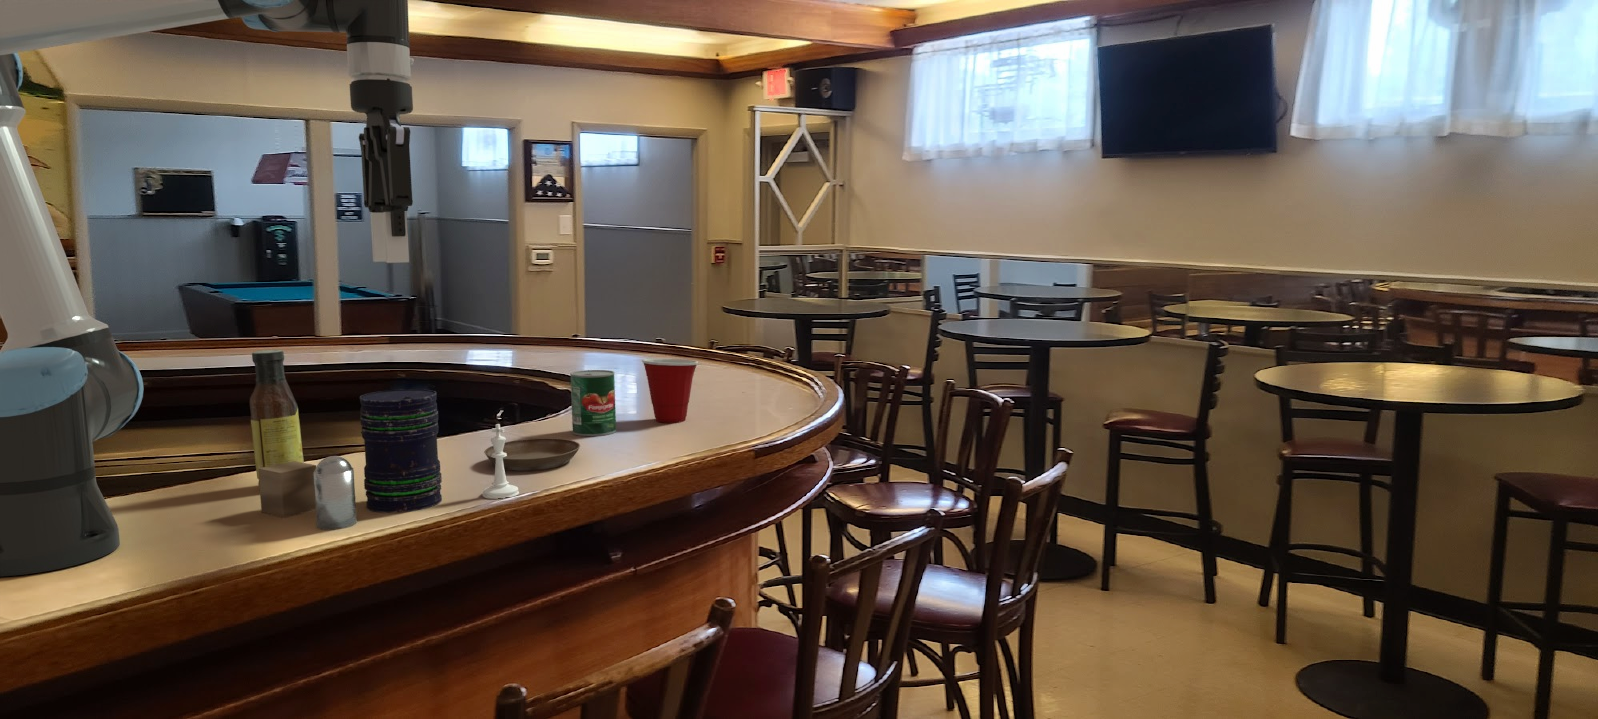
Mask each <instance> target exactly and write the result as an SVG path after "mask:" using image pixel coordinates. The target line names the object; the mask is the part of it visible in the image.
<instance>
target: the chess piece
mask: <svg viewBox="0 0 1598 719" xmlns="http://www.w3.org/2000/svg"><path fill="white" fill-rule="evenodd" d="M491 432H492V433H495V436H493V437H491V438H490V442H491V444H492V446H493V447H494V450H495V453H493V454H492V456H491V457H493V458H496V464H494V465H495V466H494V467H495V468H494V476H493V477H494V478H493V482H492V483H491V484H492V485H490V486H488V487H486V488H484V489H483V491H482V497H483V498H486V499H490V500H491V499H492V500H499V499H498V498H503V499H506V498H505V497H510V498H513V497H516V496H518V495H519V494H520V492H519V487H518V486H516V485H513V484H509V483H510V482H509V481H507V476H506V472H505V470H506V469H504V464H503V457H506V456H507V454H506V453H504V452H503V448H504V444H505V442H507V441H506V440H507V438H506V436H502V435H501V433H505V428H501V424H500V423H497V424H495V428H493V427H492V428H491Z"/></svg>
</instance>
